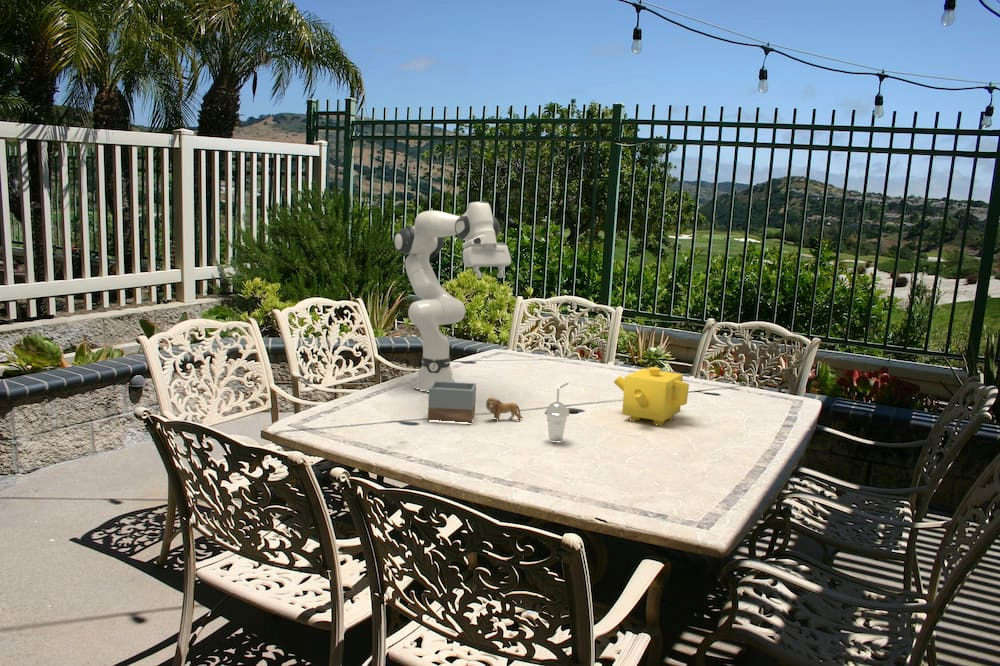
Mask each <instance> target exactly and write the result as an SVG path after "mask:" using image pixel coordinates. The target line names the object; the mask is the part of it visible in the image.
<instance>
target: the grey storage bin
mask: <svg viewBox="0 0 1000 666" xmlns="http://www.w3.org/2000/svg"><path fill="white" fill-rule="evenodd" d="M476 395H477V383H473V382H472V383H471V382H468V383H467V382H456V381H455V382H436V381H434V382H433V383H432V385H431V386H430V388H429V393H428V405H427V406H428V407H429V408H447V409H465V410H472V409H473V407H474V404H475V405H476V397H477V396H476ZM428 407H427V408H428Z"/></svg>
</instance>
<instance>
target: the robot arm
mask: <svg viewBox="0 0 1000 666" xmlns="http://www.w3.org/2000/svg"><path fill="white" fill-rule="evenodd" d="M499 222H500V221H498V219H497V218H496V217H495V216H494V215H493V213H492V208H491V205H490V204H489V202H487V201H482V200H481V201H479V200H478V201H475V200H474V201H472V202H469V204H468V206H467V210H466V211H465V212H464V214H462V216H459V215H455V214H452V213H449V212H448V213H447V212H445V211H440V210H426V211H422V212H420V213H418V214H417V216H416V217H415V220H414V225H413V226H410V225H406V226H404V227H403V228H401V229H400V230H398V231H397V232H396V233H395V235H394V239H393V240H394V241H393V242H394V243H393V244H394V248H395V249H396V251H397V253H400V254H404V255H408V256H407V257H406V258H405V261H404V265H405V266H404V267H405V271H406V274H407V277H408V280H409V282H410V285H411V287H412V290H413V293H414V295H415V296H416V297H418V298H419V300H417V301H414V302H412V303H411V304H410V305H409V307H408V311H407V313H408V314H407V315H408V318H409V320H410V322H411V323H412V324H413V325H414V326H416V328H417V329H418V331H419V332H420V335H421V339H422V356H421V367H420V368H418V370H417V381H416V384H415V385H413V386H412V387H415V388H419V389H421V390H425V391H429V388H430V386H431V385H432V383H433V382H434V381H436V382H455V383H456V381H455V379H454V378H453V374H454V372H453V370H452V369H451V357H450V338H448V336H446V334H444V333H441V331H440V328H439V327H440V326H442V325H452V324H456V323H459V322H461V321H462V320H463V319H464V318H465V315H466V308H465V305H464V303H463V302H462V301H461V300H460V299H458V298H456V297H454V296H452V295H451V294H450V293H449V292H447V291H446V290H445V288H444V287H443V286H442V285H441V284H440V282H439V280H438V278H437V276H436V273H435V271H434V269H433V268H432V267H433V266H432V265H431V263H430V258H431V259H434V258H436V257H437V255H438V253H440V252H441V250H442V248H443V247H444V243H445V239H444V238H445V237H446V238H447V237H450V236H451V237H453V236H457V237H458V239H459V240H462V241H465V242H463V243H462V249H463V250H462V260H463V265H464V266H465V268H472V270H473V272H474V273H475V274H476V278H477V279H483V278H484V276H483V275H484V273H483V272H481V270H480V268H483V267H484V268H485V267H486V268H487V267H488V268H489V267H491V268H492V267H494V268H495V267H496V268H497V270H499V271H498V273H497V272H496V276H497V277H496V278H497V279H501V278H502V279H503V277H504V274H503V272H504V270H505V267H508V266H510V265H511V263H512V257H511V254H510V250H509V247H508V245H507V244H506V243H505V242H500V241H499V242H497V238H498V236H499V234H500V232H501V225H500V223H499Z"/></svg>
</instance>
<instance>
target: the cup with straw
mask: <svg viewBox="0 0 1000 666" xmlns="http://www.w3.org/2000/svg"><path fill="white" fill-rule="evenodd" d="M569 384H570V383H569V382H565V383H563V384H562V385H560V386H558V387H557V389H556V390H557V391H556V401H553V402H551V403H550V404H549V405H548V407H547V408H546V409H545V411H544V415H545V416H546V419H547V420H546V421H547V430H548V431H547V432H548V440H549V439H550V440H551V441H556V442H557V441H562V442H563V439H564V433H565V429H566V428H565V427H566V422H567V419H568V417H569V416H570V411H569V410H568V408H567V407H566V405H565V404H564V403H562V402H561V401H559V400H560V390H561V389H562V388H564V387H566V386H568V385H569Z"/></svg>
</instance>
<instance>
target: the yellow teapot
mask: <svg viewBox="0 0 1000 666" xmlns="http://www.w3.org/2000/svg"><path fill="white" fill-rule="evenodd" d="M683 377H684V375H683V374H682V373H677V372H676V373H675V372H670V371H664V370H662V371H661V367H657V366H649V367H648V368H645V367H644V368H642V369H639V370H636V371H634V372H632V373H630V374H628V375H626V376H624V378H623V376H621V375H620V376H618V377H617V378H615V380H614V381H613V383H614V384H615V386H617V387H618V388H619V389H620V390H621V391H622V392H623V397H622V412H621V414H622V415H624V416H629V418H630V419H631V420H639V421H640V420H641V419H646V420H651V421H653V423H654V424H657V425H656V426H658V425H663V424H664V425H665V421H668V420H667V419H672V418H673V417H674V415H677V414H678V413H679V412H681V407H682V406H685V405H687V404H688V395H689V387H690V384H689V383H687V382H684V381H683V380H684V379H683ZM631 420H630V421H631ZM654 424H653V425H654ZM664 425H663V426H664Z"/></svg>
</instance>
